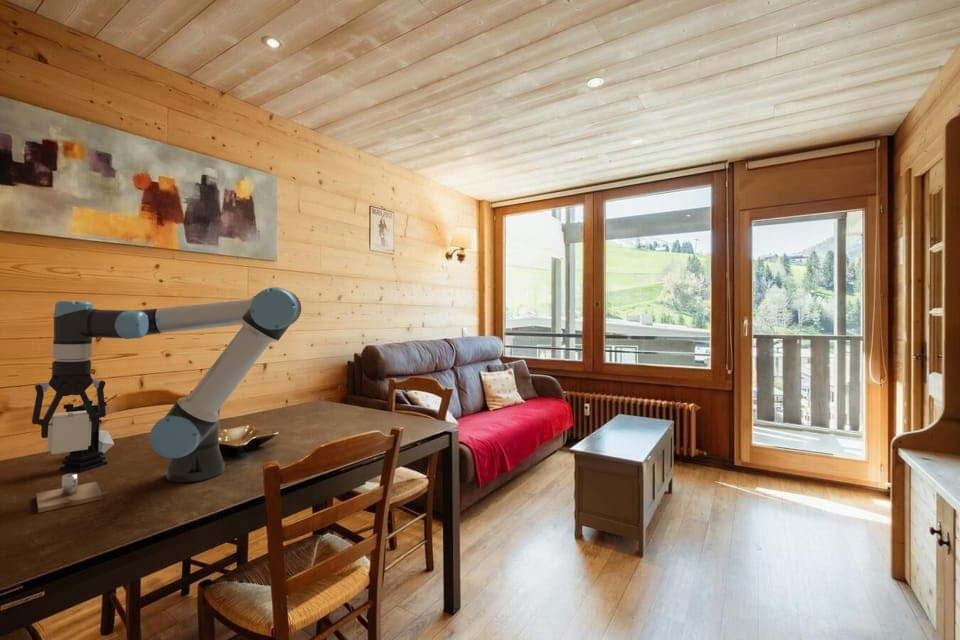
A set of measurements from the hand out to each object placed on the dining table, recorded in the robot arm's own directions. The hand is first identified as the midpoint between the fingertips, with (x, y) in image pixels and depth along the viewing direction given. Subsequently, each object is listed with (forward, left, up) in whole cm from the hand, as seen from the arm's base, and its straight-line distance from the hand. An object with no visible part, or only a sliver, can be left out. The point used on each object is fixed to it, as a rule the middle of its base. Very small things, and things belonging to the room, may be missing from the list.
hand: (69, 447), depth 116 cm
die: (+31, -26, -14) cm, 43 cm away
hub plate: (0, 0, -14) cm, 14 cm away
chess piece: (+22, -17, -14) cm, 31 cm away
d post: (0, 0, -12) cm, 12 cm away
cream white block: (0, 0, -1) cm, 1 cm away
